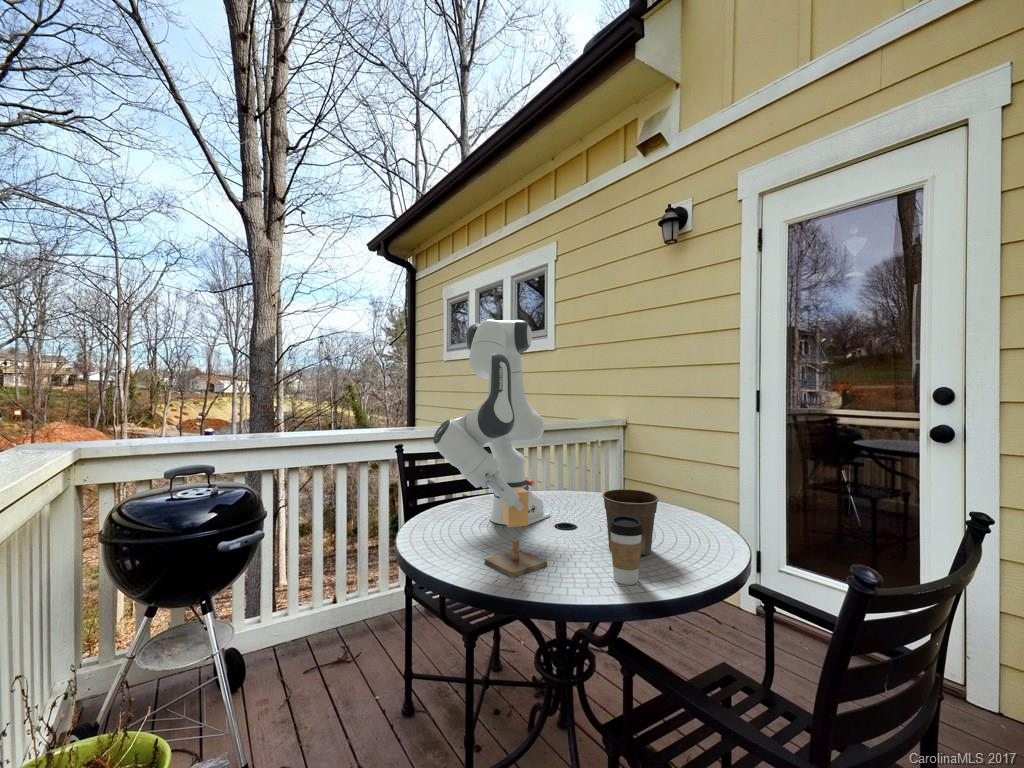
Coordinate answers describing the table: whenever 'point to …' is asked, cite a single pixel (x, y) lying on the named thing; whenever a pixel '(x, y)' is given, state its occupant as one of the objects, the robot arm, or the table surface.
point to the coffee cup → (626, 548)
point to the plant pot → (633, 511)
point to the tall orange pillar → (513, 515)
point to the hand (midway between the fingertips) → (517, 505)
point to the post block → (515, 561)
